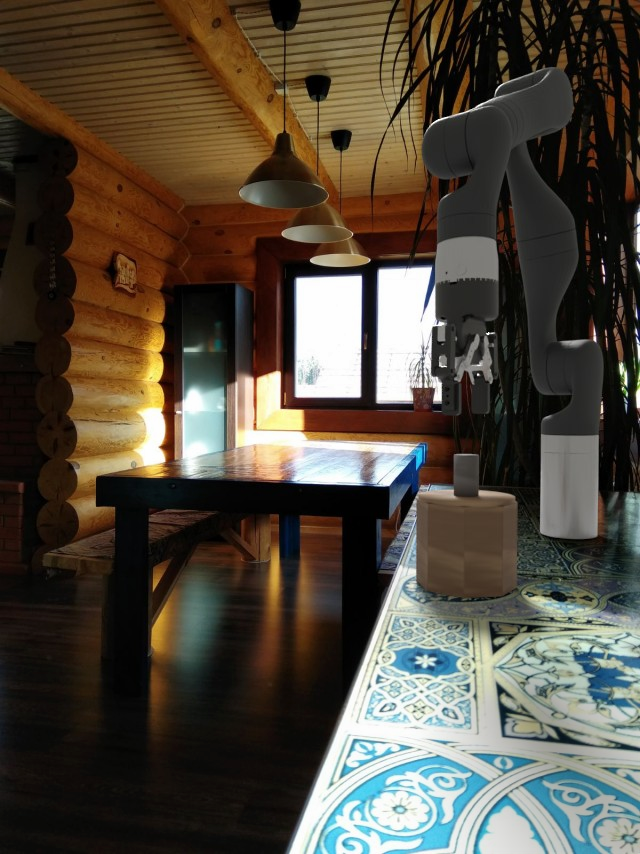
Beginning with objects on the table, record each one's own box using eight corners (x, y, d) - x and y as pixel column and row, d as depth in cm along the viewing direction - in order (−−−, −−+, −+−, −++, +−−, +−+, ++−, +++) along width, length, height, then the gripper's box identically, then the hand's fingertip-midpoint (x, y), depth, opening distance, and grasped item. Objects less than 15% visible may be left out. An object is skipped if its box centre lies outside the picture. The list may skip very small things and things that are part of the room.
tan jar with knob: (443, 567, 88) (444, 450, 88) (528, 581, 81) (529, 454, 81) (401, 586, 79) (401, 455, 78) (492, 603, 72) (493, 460, 71)
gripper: (462, 292, 87) (462, 413, 87) (410, 276, 75) (411, 415, 76) (517, 285, 82) (517, 413, 83) (471, 267, 71) (471, 415, 71)
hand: (466, 414), depth 79 cm, fingers open, 8 cm apart
